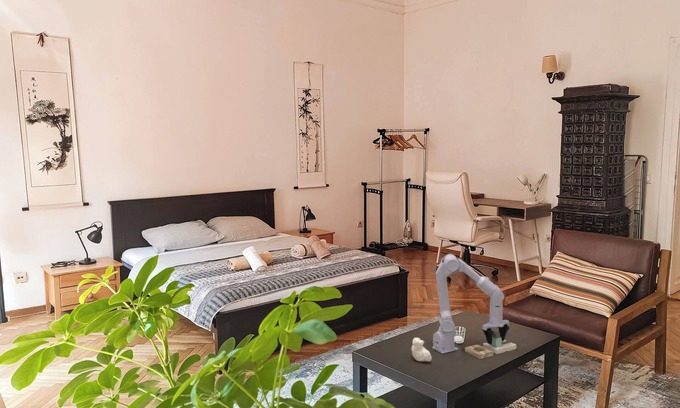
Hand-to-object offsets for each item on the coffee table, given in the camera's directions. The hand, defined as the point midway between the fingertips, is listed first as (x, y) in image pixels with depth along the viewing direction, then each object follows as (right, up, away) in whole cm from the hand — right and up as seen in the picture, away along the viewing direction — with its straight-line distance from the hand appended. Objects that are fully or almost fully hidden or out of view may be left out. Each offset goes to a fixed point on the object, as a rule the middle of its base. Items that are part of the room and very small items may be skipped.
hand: (495, 342), depth 242 cm
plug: (0, -3, 0) cm, 3 cm away
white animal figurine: (-36, -6, -10) cm, 38 cm away
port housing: (+2, -3, +1) cm, 4 cm away
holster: (-9, -4, -4) cm, 11 cm away
